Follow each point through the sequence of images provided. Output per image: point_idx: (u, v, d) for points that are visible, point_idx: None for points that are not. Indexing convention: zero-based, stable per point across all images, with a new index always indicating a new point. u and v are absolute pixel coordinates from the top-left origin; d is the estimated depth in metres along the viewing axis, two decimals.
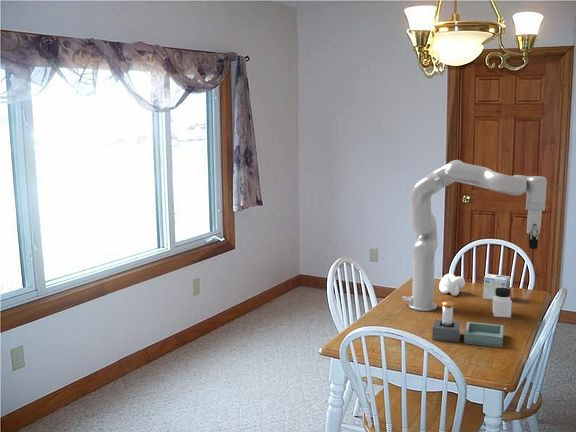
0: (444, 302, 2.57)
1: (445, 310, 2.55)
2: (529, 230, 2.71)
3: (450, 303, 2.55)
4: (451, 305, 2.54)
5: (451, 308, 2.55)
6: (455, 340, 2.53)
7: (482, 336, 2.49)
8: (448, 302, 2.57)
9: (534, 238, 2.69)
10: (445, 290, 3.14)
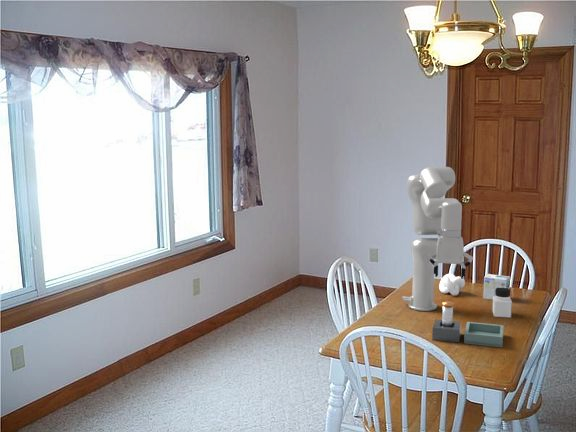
0: (444, 302, 2.57)
1: (445, 310, 2.55)
2: None
3: (450, 303, 2.55)
4: (451, 305, 2.54)
5: (451, 308, 2.55)
6: (455, 340, 2.53)
7: (482, 336, 2.49)
8: (448, 302, 2.57)
9: (466, 266, 2.52)
10: (445, 290, 3.14)
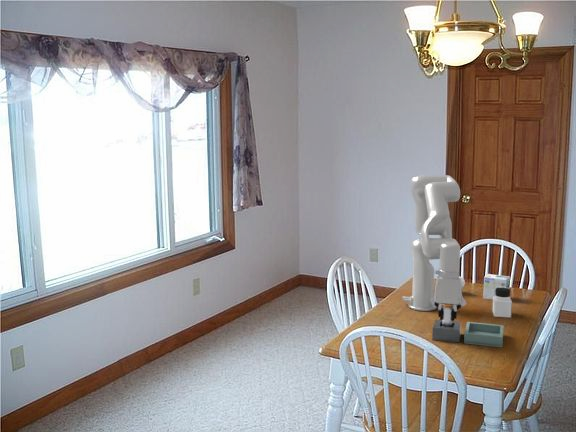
0: None
1: (445, 310, 2.55)
2: (461, 300, 2.53)
3: None
4: (451, 305, 2.54)
5: (451, 308, 2.55)
6: (455, 340, 2.53)
7: (482, 336, 2.49)
8: None
9: None
10: None
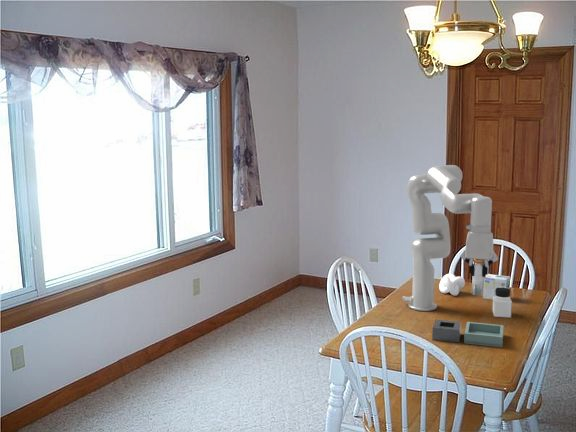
0: None
1: (476, 266, 2.50)
2: (492, 255, 2.47)
3: None
4: (482, 260, 2.49)
5: (482, 264, 2.50)
6: (455, 340, 2.53)
7: (482, 336, 2.49)
8: None
9: (489, 264, 2.50)
10: (445, 290, 3.14)
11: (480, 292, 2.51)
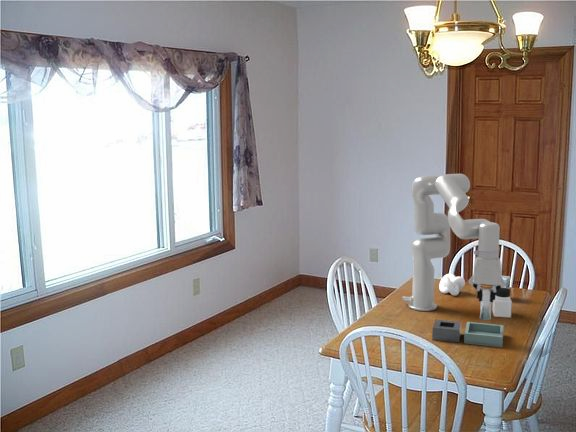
0: None
1: (484, 291, 2.51)
2: (500, 281, 2.49)
3: None
4: (490, 286, 2.50)
5: (490, 289, 2.51)
6: (455, 340, 2.53)
7: (482, 336, 2.49)
8: None
9: None
10: (445, 290, 3.14)
11: (488, 317, 2.52)
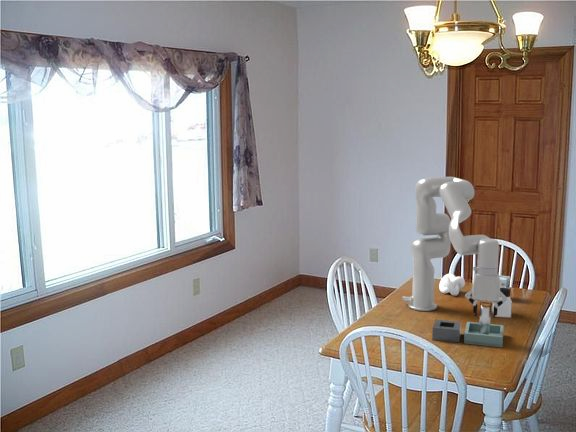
0: (482, 301, 2.54)
1: (483, 310, 2.52)
2: (499, 297, 2.50)
3: (488, 303, 2.52)
4: (490, 305, 2.51)
5: (489, 308, 2.52)
6: (455, 340, 2.53)
7: (482, 336, 2.49)
8: (486, 301, 2.54)
9: None
10: (445, 290, 3.14)
11: None
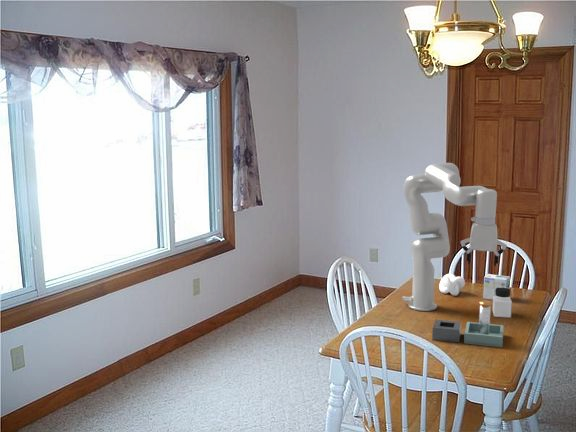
0: (481, 301, 2.54)
1: (482, 309, 2.53)
2: (496, 247, 2.51)
3: (488, 302, 2.53)
4: (489, 304, 2.52)
5: (489, 307, 2.52)
6: (455, 340, 2.53)
7: (482, 336, 2.49)
8: (485, 301, 2.54)
9: (500, 253, 2.53)
10: (445, 290, 3.14)
11: None
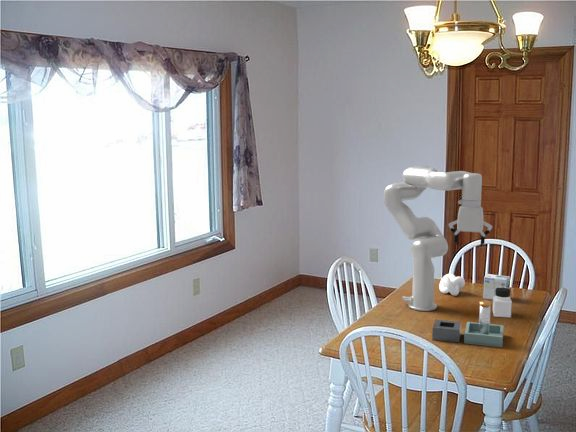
0: (481, 301, 2.54)
1: (482, 310, 2.53)
2: (482, 228, 2.65)
3: (487, 302, 2.53)
4: (489, 304, 2.52)
5: (489, 307, 2.52)
6: (455, 340, 2.53)
7: (482, 336, 2.49)
8: (485, 301, 2.54)
9: (486, 234, 2.67)
10: (445, 290, 3.14)
11: None
